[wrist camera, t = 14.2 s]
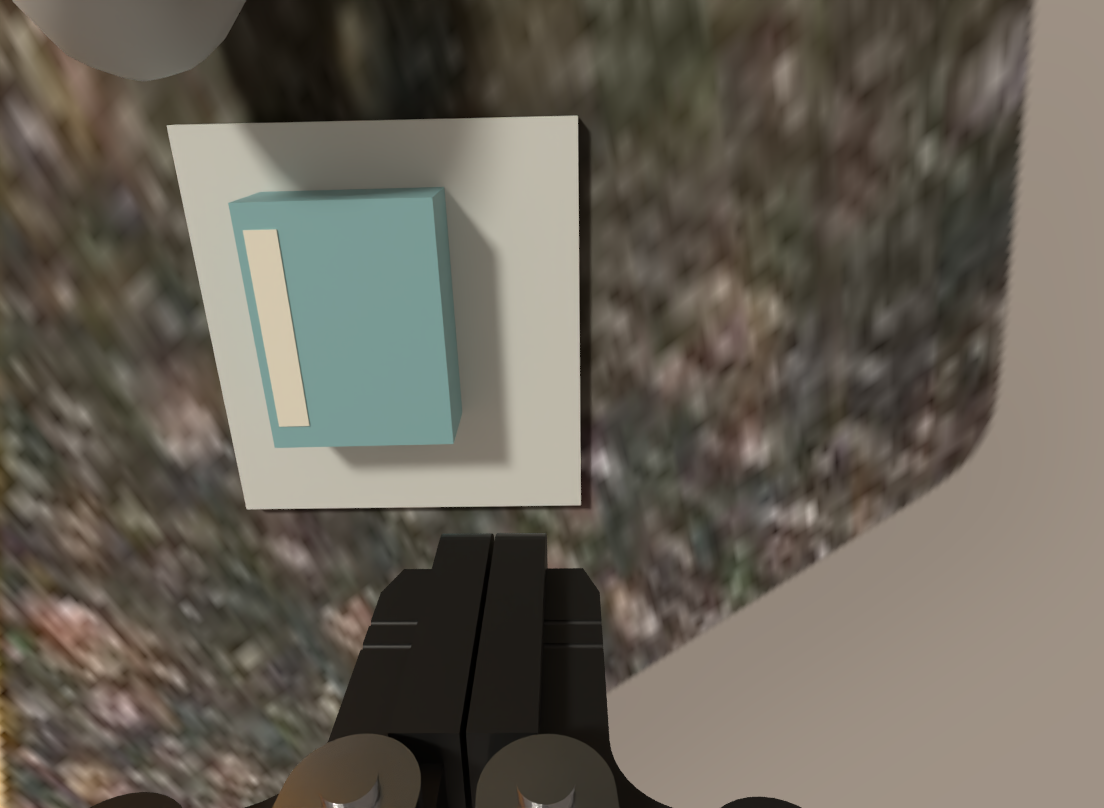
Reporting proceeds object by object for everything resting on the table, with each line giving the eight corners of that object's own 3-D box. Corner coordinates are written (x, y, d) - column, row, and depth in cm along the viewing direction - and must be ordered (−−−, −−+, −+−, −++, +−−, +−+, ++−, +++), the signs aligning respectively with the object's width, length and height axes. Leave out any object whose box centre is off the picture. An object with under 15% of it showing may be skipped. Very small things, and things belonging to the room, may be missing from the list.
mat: (175, 124, 24) (166, 125, 23) (577, 115, 24) (578, 116, 23) (252, 501, 29) (246, 509, 29) (580, 497, 29) (580, 505, 29)
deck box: (444, 186, 24) (260, 191, 24) (431, 197, 22) (227, 203, 22) (462, 412, 27) (299, 416, 27) (453, 444, 25) (274, 448, 25)
